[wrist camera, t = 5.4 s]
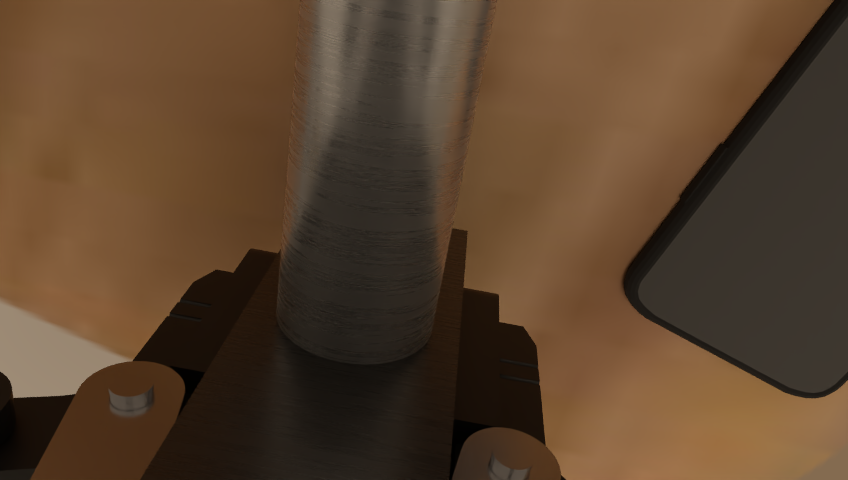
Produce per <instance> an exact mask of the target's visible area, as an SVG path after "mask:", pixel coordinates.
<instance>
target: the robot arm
mask: <svg viewBox="0 0 848 480" xmlns="http://www.w3.org/2000/svg"><path fill="white" fill-rule="evenodd" d="M277 254H278V253H273V252H268V251H262V250H257V249H250V250H249V251H248V252H247V254H246V255H245V257H244V258H243V260H242V261H241V263H240V264H239V266H238V267H237V268H236V270H235V271H234V273H231V272H226V271H221V270H215V271H213V272H211V273H209V274H208V275H206V276H204V277H202V278H200V279H198V280H197V281H195V282H193V283H192V285H191V286H190V287H189V289H188V290H187V291H186V293H185V294H184V295H183V296H182V298H181V300H180V302H178V303H177V304H176V305H175V307H174V308H173V309H172V311H171V312H170V315H169V316H167V317H166V318H165V320H164V321H163V322H162V324H161V325H160V326H159V327H158V329H157V330H156V331H155V333H154V334H153V335H152V336H151V338H150V339H149V340H148V342H147V343H146V344H145V346H144V347H143V348H142V349H141V351H140V352H139V353H138V355H137V356H136V357H135V358H134V360H133V361H132V362H124V363H119V364H115V365H111V366H108V367H106V368H103V369H101V370H99V371H98V372H96V373H94V374H92V375H91V376H90V377H88V378H87V379H86V380H85V381H84V382H83V383H82V384H81V386H80V388H79V389H78V391H77V393H76V394H73V395H65V396H50V397H27V398H13V393H12V386H11V383H10V381H9V379H8V378H7V377H6V376H5V375H4V374H3V373H1V372H0V480H140V479H141V477H142V476H143V474H144V472H145V471H146V469H147V467H148V466H149V464H150V463H151V461H152V459H153V458H154V456H155V454H156V453H157V451H158V449H159V448H160V446H161V444H162V443H163V441H164V440H165V438H166V436H167V435H168V433H169V431H170V430H171V428H172V426H173V425H174V423H175V422H176V420H177V418H178V417H179V415H180V413H181V412H182V410H183V408H184V407H185V405H186V404H187V402H188V400H189V399H190V397H191V395H192V394H193V392H194V390H195V389H196V387H197V385H198V384H199V382H200V381H201V379H202V377H203V376H204V374H205V372H206V371H207V369H208V367H209V366H210V364H211V363H212V361H213V359H214V358H215V356H216V354H217V353H218V351H219V349H220V348H221V346H222V345H223V343H224V341H225V340H226V338H227V336H228V335H229V333H230V331H231V330H232V328H233V327H234V325H235V323H236V322H237V320H238V318H239V317H240V315H241V313H242V312H243V310H244V308H245V307H246V305H247V304H248V302H249V300H250V299H251V297H252V295H253V294H254V292H255V290H256V289H257V287H258V286H259V284H260V282H261V281H262V279H263V277H264V276H265V274H266V272H267V271H268V269H269V268H270V266H271V264H272V263H273V261H274V259H275V258H276V256H277ZM539 382H540V380H539V370H538V359H537V348H536V345H535V343H534V342H533V340H532V339H531V337H530V336H529V334H528V333H527V331H526V330H525V329H524V327H523V326H517V325H512V324H507V323H501V322H499V295H498V294H495V293H489V292H484V291H478V290H473V289H467V288H463V299H462V313H461V326H460V340H459V353H458V367H457V380H456V394H455V407H454V421H453V434H452V447H451V461H450V474H449V480H566V479H565V478H564V477H563V476H562V475H561V471H560V466H559V464H558V462H557V459H556V458H555V456H554V455H553V453H552V452H551V451H550V450H549V449H548V448H547V447H546V445H545V434H544V424H543V413H542V402H541V391H540V385H539Z"/></svg>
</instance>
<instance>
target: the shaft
mask: <svg viewBox="0 0 848 480" xmlns="http://www.w3.org/2000/svg"><path fill="white" fill-rule="evenodd" d="M496 2H497V0H300V9H299V22H298V36H297V49H296V62H295V75H294V88H293V101H292V114H291V127H290V140H289V153H288V166H287V179H286V192H285V205H284V218H283V231H282V244H281V249H280V251H279V253H278V254H277V256H276V258H275V259H274V261H273V263H272V264H271V266H270V268H269V269H268V271H267V272H266V274H265V276H264V277H263V279H262V281H261V282H260V284H259V286H258V287H257V289H256V290H255V292H254V294H253V295H252V297H251V299H250V300H249V302H248V304H247V305H246V307H245V308H244V310H243V312H242V313H241V315H240V317H239V318H238V320H237V322H236V323H235V325H234V327H233V328H232V330H231V331H230V333H229V335H228V336H227V338H226V340H225V341H224V343H223V345H222V346H221V348H220V349H219V351H218V353H217V354H216V356H215V358H214V359H213V361H212V363H211V364H210V366H209V367H208V369H207V371H206V372H205V374H204V376H203V377H202V379H201V381H200V382H199V384H198V385H197V387H196V389H195V390H194V392H193V394H192V395H191V397H190V399H189V400H188V402H187V404H186V405H185V407H184V408H183V410H182V412H181V413H180V415H179V417H178V418H177V420H176V422H175V423H174V425H173V426H172V428H171V430H170V431H169V433H168V435H167V436H166V438H165V440H164V441H163V443H162V444H161V446H160V448H159V449H158V451H157V453H156V454H155V456H154V458H153V459H152V461H151V463H150V464H149V466H148V467H147V469H146V471H145V472H144V474H143V476H142V477H141V479H140V480H449V474H450V461H451V447H452V434H453V421H454V407H455V394H456V380H457V367H458V353H459V340H460V326H461V313H462V299H463V286H464V272H465V259H466V245H467V232H468V231H464V230H459V229H453V228H452V226H453V221H454V216H455V211H456V206H457V201H458V195H459V190H460V185H461V180H462V175H463V170H464V165H465V160H466V155H467V150H468V145H469V140H470V135H471V129H472V124H473V119H474V114H475V109H476V104H477V99H478V94H479V89H480V84H481V79H482V74H483V68H484V63H485V58H486V53H487V48H488V43H489V38H490V33H491V28H492V23H493V18H494V13H495V8H496Z"/></svg>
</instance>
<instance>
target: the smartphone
mask: <svg viewBox="0 0 848 480" xmlns="http://www.w3.org/2000/svg"><path fill="white" fill-rule="evenodd" d="M624 288H625V294H626V296H627V298H628V300H629V302H630V303H631V305H632V306H633V307H634V308H635V309H636V310H637V311H638V312H639V313H640V314H641V315H643V316H644V317H645V318H647V319H649V320H650V321H652V322H654V323H656V324H658V325H660V326H662V327H664V328H665V329H667V330H669V331H671V332H673V333H675V334H677V335H679V336H680V337H682V338H684V339H686V340H688V341H690V342H692V343H694V344H695V345H697V346H699V347H701V348H703V349H705V350H707V351H709V352H710V353H712V354H714V355H716V356H718V357H720V358H722V359H724V360H725V361H727V362H729V363H731V364H733V365H735V366H737V367H738V368H740V369H742V370H744V371H746V372H748V373H750V374H752V375H753V376H755V377H757V378H759V379H761V380H763V381H765V382H766V383H768V384H770V385H772V386H774V387H776V388H778V389H779V390H781V391H783V392H785V393H788V394H791V395H794V396H799V397H804V398H820V397H824V396H827V395H829V394H831V393H833V392H835V391H836V390H837V389H839V388H840V387H841V386H842V385H843V384H844V383H845V382H846V381H847V380H848V0H835V1H834V2H833V3H832V5H831V6H830V7H829V9H828V10H827V11H826V12H825V14H824V15H823V16H822V18H821V19H820V20H819V21H818V23H817V24H816V25H815V27H814V28H813V29H812V31H811V32H810V33H809V34H808V36H807V37H806V38H805V40H804V41H803V42H802V43H801V45H800V46H799V47H798V49H797V50H796V51H795V53H794V54H793V55H792V56H791V58H790V59H789V60H788V62H787V63H786V64H785V65H784V67H783V68H782V69H781V71H780V72H779V73H778V75H777V76H776V77H775V78H774V80H773V81H772V82H771V84H770V85H769V86H768V87H767V89H766V90H765V91H764V93H763V94H762V95H761V97H760V98H759V99H758V100H757V102H756V103H755V104H754V106H753V107H752V108H751V109H750V111H749V112H748V113H747V115H746V116H745V117H744V119H743V120H742V121H741V122H740V124H739V125H738V126H737V128H736V129H735V130H734V131H733V133H732V134H731V135H730V137H729V138H728V139H727V141H726V142H725V143H724V144H722V143H721V145H720V146H719V147H718V149H717V150H716V151H715V152H714V154H713V155H712V156H711V158H710V159H709V160H708V162H707V163H706V164H705V165H704V167H703V168H702V169H701V171H700V172H699V173H698V175H697V176H696V177H695V178H694V180H693V181H692V182H691V184H690V185H689V186H688V188H687V189H686V190H685V191H684V193H683V194H682V195H681V201H680V202H679V203H678V204H677V206H676V207H675V208H674V210H673V211H672V212H671V214H670V215H669V216H668V218H667V219H666V220H665V222H664V223H663V224H662V225H661V227H660V228H659V229H658V231H657V232H656V233H655V235H654V236H653V237H652V239H651V240H650V241H649V243H648V244H647V245H646V246H645V248H644V249H643V250H642V252H641V253H640V254H639V256H638V257H637V258H636V260H635V261H634V262H633V264H632V265H631V266H630V268H629V270H628V272H627V274H626V277H625V282H624Z"/></svg>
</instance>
